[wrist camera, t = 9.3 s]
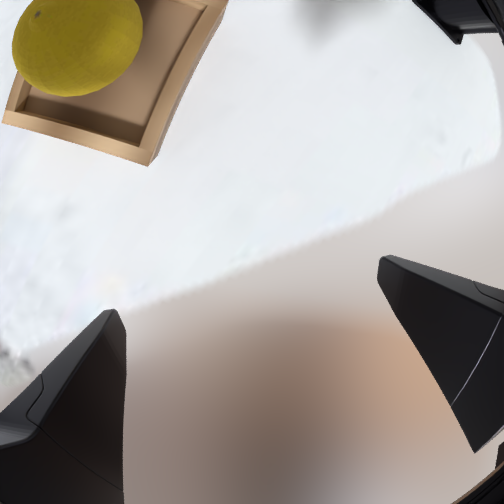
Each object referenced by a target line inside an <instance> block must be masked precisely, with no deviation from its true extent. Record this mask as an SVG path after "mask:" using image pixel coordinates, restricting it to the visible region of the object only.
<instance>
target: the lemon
mask: <svg viewBox="0 0 504 504" xmlns="http://www.w3.org/2000/svg"><path fill="white" fill-rule="evenodd" d="M142 35H143V20H142V17H141V13H140V10H139V7H138V5H137V3H136V2H135V1H134V0H33V1H32V2H31V4H30V5H29V6H28V7H27V8H26V10H25V11H24V13H23V14H22V16H21V17H20V19H19V21H18V24H17V26H16V29H15V32H14V36H13V41H12V55H13V60H14V63H15V66H16V68H17V70H18V72H19V73H20V74H21V75H22V77H23V78H24V79H25V80H26V81H27V82H28V83H29V84H31V85H32V86H34V87H36V88H37V89H39V90H41V91H43V92H45V93H47V94H52V95H57V96H62V97H69V96H81V95H85V94H88V93H91V92H95V91H98V90H100V89H102V88H103V87H105V86H107V85H109V84H111V83H112V82H113V81H115V80H116V79H117V78H118V77H119V76H121V75H122V74H123V73H124V72H125V70H126V69H127V68H128V67H129V66H130V64H131V63H132V62H133V60H134V58H135V56H136V54H137V52H138V50H139V47H140V43H141V40H142Z"/></svg>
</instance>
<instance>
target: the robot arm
mask: <svg viewBox="0 0 504 504" xmlns="http://www.w3.org/2000/svg"><path fill="white" fill-rule="evenodd" d="M413 2H414V3H415V4H416V5H417V6H418V7H419V8H420V9H421V10H422V11H423V12H424V13H426V14H427V15H428V16H429V17H430V18H431V19H432V20H433V21H434V22H435V23H436V24H437V25H438V26H439V27H440V28H441V29H442V30H443V31H444V33H445V34H446V35H447V36H448V37H449V38H450V39H451V40H452V41H453V42H454V43H455V44H456V45H460V44H461V42H462V38H463V35H464V34H475V33H499V35H500V37H501V39H502V43H503V45H504V0H413ZM377 281H378V284H379V286H380V287H381V289H382V291H383V293H384V295H385V297H386V299H387V300H388V302H389V304H390V306H391V308H392V310H393V312H394V313H395V315H396V317H397V319H398V320H399V321H400V323H401V325H402V326H403V328H404V329H405V331H406V332H407V334H408V336H409V337H410V339H411V340H412V342H413V343H414V345H415V347H416V348H417V350H418V351H419V353H420V355H421V356H422V358H423V360H424V361H425V363H426V365H427V366H428V368H429V370H430V371H431V373H432V375H433V376H434V378H435V380H436V382H437V383H438V385H439V387H440V389H441V390H442V392H443V394H444V396H445V397H446V399H447V401H448V403H449V405H450V406H451V409H452V410H453V412H454V414H455V416H456V418H457V420H458V422H459V424H460V426H461V428H462V430H463V432H464V434H465V436H466V438H467V440H468V442H469V444H470V446H471V448H472V450H473V452H474V453H476V452H477V451H479V450H480V449H481V448H483V447H484V446H485V445H486V444H487V443H488V442H490V441H491V440H492V439H493V438H494V437H496V436H497V435H498V434H499V433H500V432H501V431H502V430H503V429H504V290H501V289H498V288H494V287H491V286H488V285H485V284H482V283H479V282H475V281H472V280H470V279H467V278H463V277H461V276H458V275H454V274H451V273H448V272H445V271H442V270H439V269H436V268H432V267H429V266H426V265H422V264H419V263H416V262H413V261H410V260H406V259H403V258H400V257H397V256H393V255H387V256H383V257H381V258H380V260H379V266H378V274H377ZM125 386H126V330H125V327H124V325H123V323H122V321H121V318H120V316H119V314H118V312H117V311H116V310H115V309H110V310H104V311H103V312H102V313H101V314H100V315H99V316H98V317H97V318H95V319H94V320H93V321H92V322H91V323H90V324H89V325H88V326H87V327H86V328H85V329H84V330H83V331H82V332H81V333H80V334H79V335H78V336H77V337H76V338H75V339H74V340H73V341H72V342H71V343H70V344H69V345H68V346H67V347H66V348H65V349H64V350H63V351H62V352H61V353H60V354H59V355H58V356H57V357H56V358H55V359H54V360H53V361H52V362H51V363H50V364H49V365H48V366H47V367H46V368H45V369H44V370H43V371H42V374H39V375H38V376H37V377H36V379H35V380H34V381H33V382H32V383H31V384H30V385H29V386H28V387H27V388H26V389H25V390H24V391H23V392H22V393H21V394H20V395H19V396H18V397H17V398H16V399H15V400H14V401H12V402H11V403H10V405H8V406H7V407H6V408H5V409H4V410H3V411H2V412H1V413H0V504H124V493H123V459H122V458H123V418H124V401H125ZM452 504H504V442H503V443H502V444H500V445H499V448H498V455H497V460H496V466H495V470H494V471H493V472H491V473H490V474H489V475H488V476H487V477H486V478H484V479H483V480H482V481H481V482H480V483H478V484H477V485H476V486H475V487H473V488H472V489H471V490H470V491H468V492H467V493H466V494H464V495H463V496H462V497H460V498H459V499H457V500H456V501H455V502H453V503H452Z"/></svg>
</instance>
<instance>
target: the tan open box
mask: <svg viewBox="0 0 504 504" xmlns="http://www.w3.org/2000/svg"><path fill="white" fill-rule="evenodd" d="M134 1H135V2H136V3H137V5H138V7H139V10H140V13H141V17H142V20H143V35H142V40H141V43H140V47H139V50H138V52H137V54H136V56H135V58H134V60H133V62H132V63H131V64H130V66H129V67H128V68H127V69H126V70H125V72H124V73H123V74H122V75H121V76H119V77H118V78H117V79H116V80H115V81H113V82H112V83H111V84H109V85H107V86H105V87H103V88H102V89H100V90H98V91H95V92H91V93H88V94H85V95H81V96H69V97H62V96H57V95H52V94H47V93H45V92H43V91H41V90H39V89H37V88H36V87H34V86H32V85H31V84H29V83H28V82H27V81H26V80H25V79H24V78H23V77H22V75H21V74H20V73H19V72H18V71H17V74H16V77H15V79H14V82H13V85H12V88H11V92H10V95H9V98H8V101H7V105H6V108H5V112H4V116H3V120H2V123H4V124H8V125H12V126H16V127H19V128H23V129H27V130H30V131H34V132H38V133H41V134H45V135H48V136H52V137H55V138H59V139H62V140H66V141H69V142H72V143H76V144H79V145H82V146H86V147H89V148H92V149H95V150H98V151H102V152H105V153H108V154H111V155H114V156H117V157H120V158H123V159H126V160H129V161H132V162H135V163H138V164H141V165H144V166H147V167H148V166H149V165H150V164H151V162H152V161H153V160H154V159H155V158H156V157H157V156H158V153H159V150H160V148H161V145H162V143H163V140H164V138H165V135H166V133H167V130H168V128H169V126H170V123H171V121H172V118H173V116H174V114H175V112H176V109H177V107H178V105H179V103H180V100H181V98H182V96H183V94H184V92H185V90H186V87H187V85H188V83H189V81H190V79H191V77H192V75H193V73H194V71H195V69H196V67H197V65H198V63H199V61H200V59H201V57H202V55H203V54H204V52H205V50H206V48H207V46H208V44H209V42H210V41H211V39H212V37H213V35H214V33H215V32H216V30H217V28H218V27H219V25H220V23H221V21H222V18H223V15H224V12H225V9H226V6H227V3H228V1H229V0H134Z"/></svg>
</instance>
